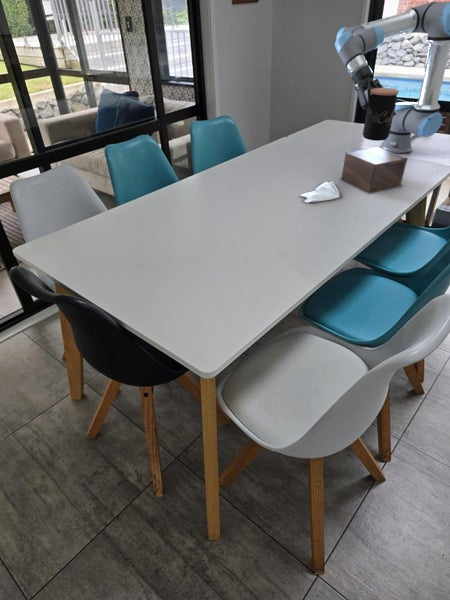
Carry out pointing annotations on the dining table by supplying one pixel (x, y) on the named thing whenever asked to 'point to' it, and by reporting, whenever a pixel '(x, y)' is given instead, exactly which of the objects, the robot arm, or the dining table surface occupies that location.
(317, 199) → the cloth
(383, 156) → the dark wooden box
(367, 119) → the coffee jar
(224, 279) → the dining table surface
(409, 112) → the robot arm
